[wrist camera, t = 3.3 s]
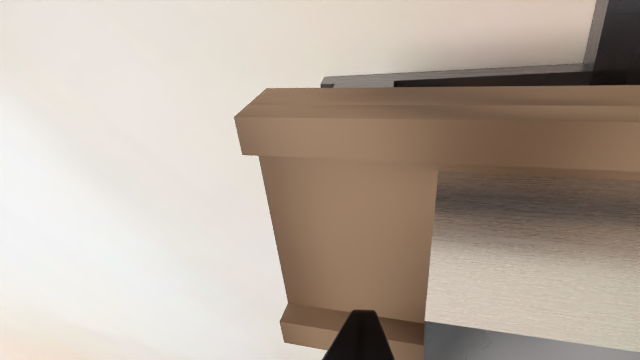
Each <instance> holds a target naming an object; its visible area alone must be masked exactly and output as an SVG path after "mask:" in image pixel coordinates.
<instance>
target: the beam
mask: <svg viewBox="0 0 640 360" xmlns="http://www.w3.org/2000/svg"><path fill="white" fill-rule="evenodd" d="M234 119H235V124H236V128H237V133H238V137H239V142H240V146H241V151H242V155H257V156H259V160H260V165H261V170H262V175H263V180H264V185H265V190H266V195H267V200H268V205H269V210H270V215H271V220H272V225H273V230H274V235H275V240H276V245H277V250H278V255H279V260H280V264H281V269H282V274H283V279H284V284H285V289H286V294H287V299H288V304H287V307H286V309H285V311H284V313H283V316H282V318H281V320H280V325H281V330H282V334H283V339H284V342H285V343H290V344H296V345H301V346H307V347H312V348H318V349H323V350H328V349H329V347H330V346H331V344H332V342H333V341H334V339H335V337H336V336H337V334H338V332H339V331H340V329H341V327H342V326H343V324H344V322H345V321H346V319H347V317H348V316H349V314H350V312H351V311H352V310H354V309H362V310H374V311H376V313H377V315H378V318H379V320H380V323H381V325H382V328H383V331H384V333H385V336H386V338H387V341H388V343H389V346H390V348H391V351H392V353H393V356H394V358H395V360H424V324H425V311H426V300H427V289H428V278H429V267H430V256H431V245H432V234H433V224H434V213H435V202H436V191H437V180H438V172H459V173H481V174H504V175H526V176H549V177H571V178H593V179H615V180H637V181H640V85H599V86H487V87H375V88H267V89H265V90H264V91H263V92H262V93H261V94H260V95H259V96H257V97H256V98H255V99H254V100H253V101H252V102H251V103H249V104H248V105H247V106H246V107H245V108H244V109H243V110H241V111H240V112H239V113H238V114H237V115H236V116H235V117H234Z"/></svg>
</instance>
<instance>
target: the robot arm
mask: <svg viewBox="0 0 640 360" xmlns="http://www.w3.org/2000/svg"><path fill="white" fill-rule="evenodd" d="M322 360H395V358H394V356H393V353H392V351H391V348H390V346H389V343H388V341H387V338H386V336H385V333H384V331H383V328H382V325H381V323H380V320H379V318H378V315H377V313H376V311H374V310H362V309H354V310H352V311H351V312H350V314H349V316H348V317H347V319H346V321H345V322H344V324H343V326H342V327H341V329H340V331H339V332H338V334H337V336H336V337H335V339H334V341H333V342H332V344H331V346H330V347H329V349H328V351H327V352H326V354H325V356H324V357H323V359H322Z"/></svg>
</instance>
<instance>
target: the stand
mask: <svg viewBox="0 0 640 360" xmlns="http://www.w3.org/2000/svg"><path fill="white" fill-rule="evenodd" d="M599 85H640V0H597V2H596V6H595V11H594V16H593V20H592V25H591V30H590V34H589V39H588V44H587V48H586V53H585V57H584V62H583V64H565V65H546V66H527V67H509V68H490V69H471V70H452V71H433V72H414V73H395V74H376V75H357V76H338V77H324V79H323V81H322V82H321V88H375V87H487V86H599Z"/></svg>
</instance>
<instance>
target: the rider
mask: <svg viewBox="0 0 640 360" xmlns="http://www.w3.org/2000/svg"><path fill="white" fill-rule="evenodd" d="M424 360H640V181H637V180H615V179H593V178H571V177H549V176H526V175H504V174H481V173H459V172H438V180H437V191H436V202H435V213H434V224H433V234H432V245H431V256H430V267H429V278H428V289H427V300H426V311H425V324H424Z"/></svg>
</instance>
